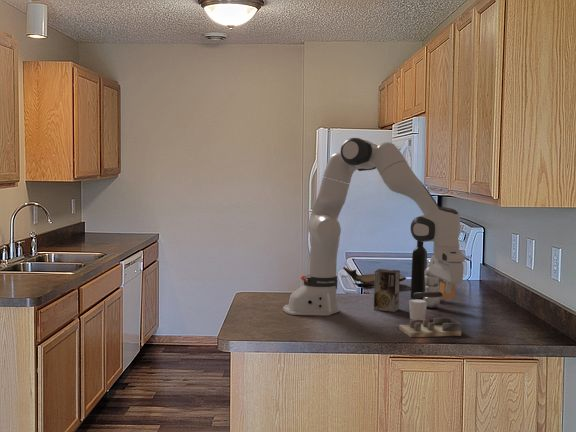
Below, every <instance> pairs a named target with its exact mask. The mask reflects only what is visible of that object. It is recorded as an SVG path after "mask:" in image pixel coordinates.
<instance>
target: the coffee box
mask: <svg viewBox="0 0 576 432" xmlns="http://www.w3.org/2000/svg"><path fill="white" fill-rule="evenodd" d="M374 274H375V284H374V287H373V289H374V292H373V295H374V296H373V310H374V311H383V312H390V313H391V312H394V313H396V311H398V310H399V309H400V308H399V307H400V282H399V280H400V275H401V270H397V269H396V270H395V269H387V268H385V269H384V268H378V269H377V270H374Z"/></svg>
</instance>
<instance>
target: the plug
mask: <svg viewBox="0 0 576 432" xmlns="http://www.w3.org/2000/svg"><path fill="white" fill-rule="evenodd" d="M446 285H447V284H446V281H443V282H440V290H439V292H417V293H414V294H413V296H414V297H415V298H421V297H439V298H443V299H455V298H456V284H453V286H452V289H451V293H450V294H447V293H445V288H446Z"/></svg>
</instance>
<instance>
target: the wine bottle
mask: <svg viewBox="0 0 576 432" xmlns="http://www.w3.org/2000/svg"><path fill="white" fill-rule="evenodd" d="M416 241H417V240H416ZM411 258H412V259H411V274H410V275H411V279H410V280H411V281H410V299H421V300H423V299H424V297H421V298H415V297H414V296H413V294H414V293H417V292H425V276H424V272H425V269H426V268H427V267H428V251H427V249H426V248H425V247H424V242H421V241H417V242H416V247H415V248H414V249H413V251H412V256H411Z"/></svg>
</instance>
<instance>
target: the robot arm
mask: <svg viewBox="0 0 576 432" xmlns="http://www.w3.org/2000/svg"><path fill="white" fill-rule="evenodd" d="M373 170H377V172H378V173H379V176H380V177H381V179H382V181H383V182H384V184H385V186H386V187H387V188H388V189H389V190H391V191H392V192H394V193H397V194H400V195H404V196H406V197H408V198H409V199H411V200H412V201H414V202H415V203H416V205H417V206H418V208H419V209H420V211H421V212H422V215H419V216H417V217H415V218H414V219H412V221H411V223H410V229H409V230H410V234H411V236H412V237H413V239H414V240H416V241H421V242H423V243H426V242H428V243H429V242H433V254H432V255H431V257H430V260H431V261H430V274H431V275H434V276H436V277H437V282H438V290H439V291H440V282H446V284H447V285H446V288H445V293H447V294H450V293H451V289H452V286H453V284H455V285H460V284H462V282H463V279H464V269H465V268H464V263H465V260H466V257H465V255H464V254H463V252H462V251H461V249H460V242H459V239H460V234H461V219H460V218H461V217H460V215H459V211H457V209H455V208H451V207H444V206H439V205H438V203H437V202H436V200H435V199H434V198H433V196H432V194H431V193H430V191H429V190H428V188H427V187H426V186H425V185H424V183H423V182H422V181H421V180H420V179H419V177H417V176H416V174H415V172H414V171H413V170H412V168H411V166H410V165H409V163H408V162H407V160H406V158H405V157H404V155H403V154H402V152H401V151H400V149H398V147H397V146H396V145H395V144H394V143H392V142H390V141H389V142H387V141H386V142H382V143H381V144H378V145H377V144H375V143H373V142H371V141H369V140H365V139H362V138H360V137H350V138H347V139H346V140H345V141H344V142H343V143H342V145H341V147H340V151H339V152H335V153H333V154H332V155H330V157H329V160H328V161H327V164H326V167H325V169H324V172H323V175H322V179H321V183H320V185H319V186H320V187H319V190H318V194H317V197H316V199H315V202H314V205H313V207H312V211H311V213H310V217H309V218H308V222H307V230H308V233H309V234H310V235H311V244H310V251H309V256H308V275H305V274H302V275H300V279H301V281H303V284H302V285H301V286H299V288H297V289H296V290H294V291H293V292H292V293H291V294H290V295H289V300H288V304H285V305H284V306H283V308H282V310H283V311H284V313H286V314H288V315H292V316H325V317H326V316H330V315H333V314H337V313H338V312H340V308H339V302H338V297H337V290H338V275H337V261H338V253H339V252H338V250H339V246H340V238H341V231H342V228H341V224H340V222H339V220H338V218H339V216H340V213H341V211H342V209H343V207H344V205H345V202H346V200H347V195H348V191H349V189H350V185H351V181H352V177H353V174H354V173H355V171H359V172H362V171H363V172H364V171H365V172H366V171H373Z"/></svg>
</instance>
